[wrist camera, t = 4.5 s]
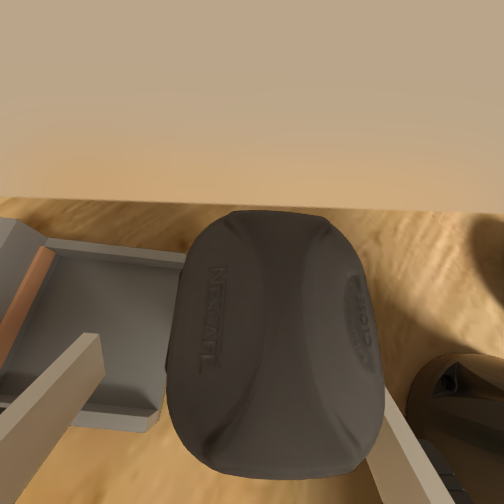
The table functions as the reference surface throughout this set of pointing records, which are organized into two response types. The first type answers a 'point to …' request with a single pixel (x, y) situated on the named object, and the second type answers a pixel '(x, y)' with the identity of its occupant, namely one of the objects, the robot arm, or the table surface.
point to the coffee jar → (274, 349)
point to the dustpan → (87, 319)
